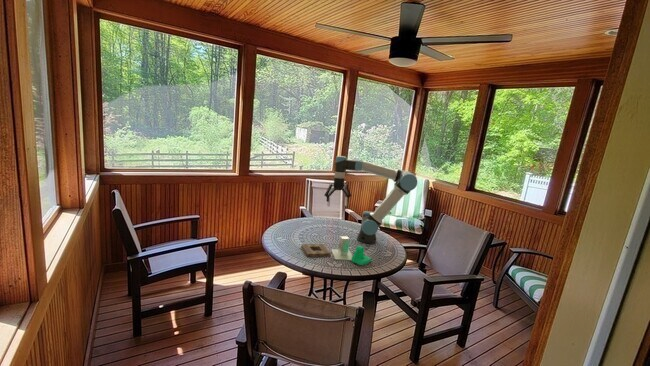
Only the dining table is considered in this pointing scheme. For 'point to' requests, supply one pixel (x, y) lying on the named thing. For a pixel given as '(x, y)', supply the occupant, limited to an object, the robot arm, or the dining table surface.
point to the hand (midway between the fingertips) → (337, 205)
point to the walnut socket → (310, 253)
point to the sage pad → (338, 257)
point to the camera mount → (360, 256)
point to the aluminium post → (343, 246)
